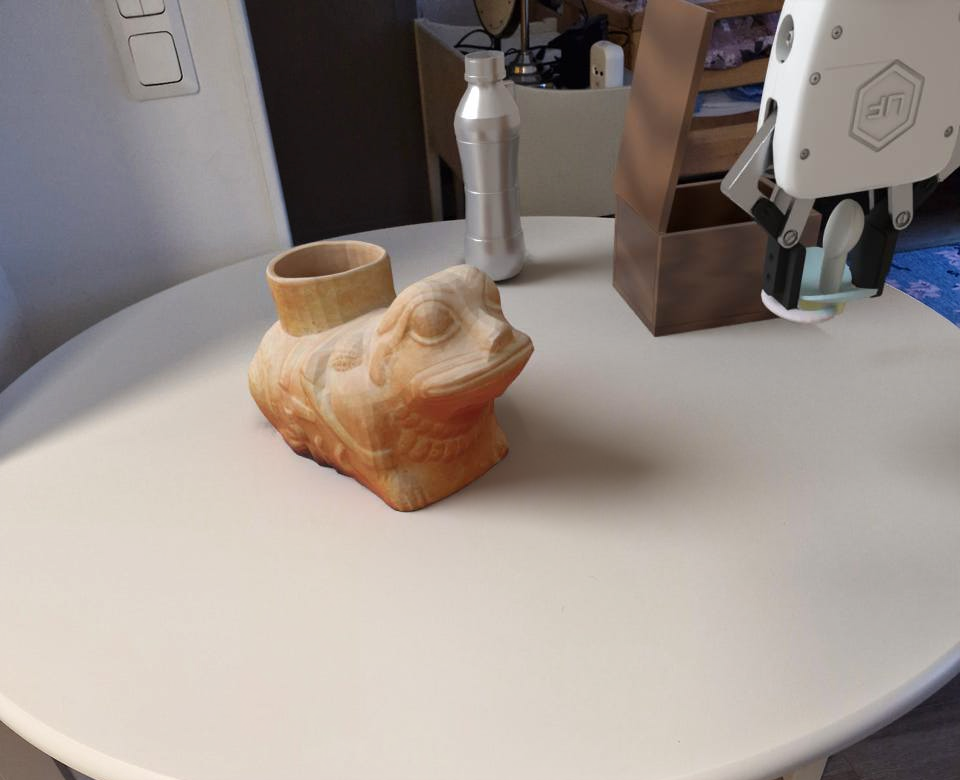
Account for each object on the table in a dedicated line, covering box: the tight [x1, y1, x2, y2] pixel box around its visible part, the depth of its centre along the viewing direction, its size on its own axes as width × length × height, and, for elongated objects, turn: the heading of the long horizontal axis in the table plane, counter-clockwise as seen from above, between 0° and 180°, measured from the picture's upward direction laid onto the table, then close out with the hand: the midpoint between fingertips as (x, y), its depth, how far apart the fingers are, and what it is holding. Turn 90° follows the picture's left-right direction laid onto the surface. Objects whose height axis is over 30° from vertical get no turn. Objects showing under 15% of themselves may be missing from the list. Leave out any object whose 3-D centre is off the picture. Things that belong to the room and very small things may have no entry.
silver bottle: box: [453, 50, 527, 282], centre depth 88 cm, size 6×7×20 cm
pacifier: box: [761, 198, 878, 325], centre depth 55 cm, size 7×6×6 cm
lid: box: [611, 0, 717, 232], centre depth 75 cm, size 15×13×1 cm
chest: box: [612, 176, 823, 338], centre depth 84 cm, size 15×13×9 cm
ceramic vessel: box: [247, 239, 535, 512], centre depth 66 cm, size 14×26×15 cm, turn 46°
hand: (822, 293), depth 56 cm, fingers closed on pacifier, 4 cm apart
